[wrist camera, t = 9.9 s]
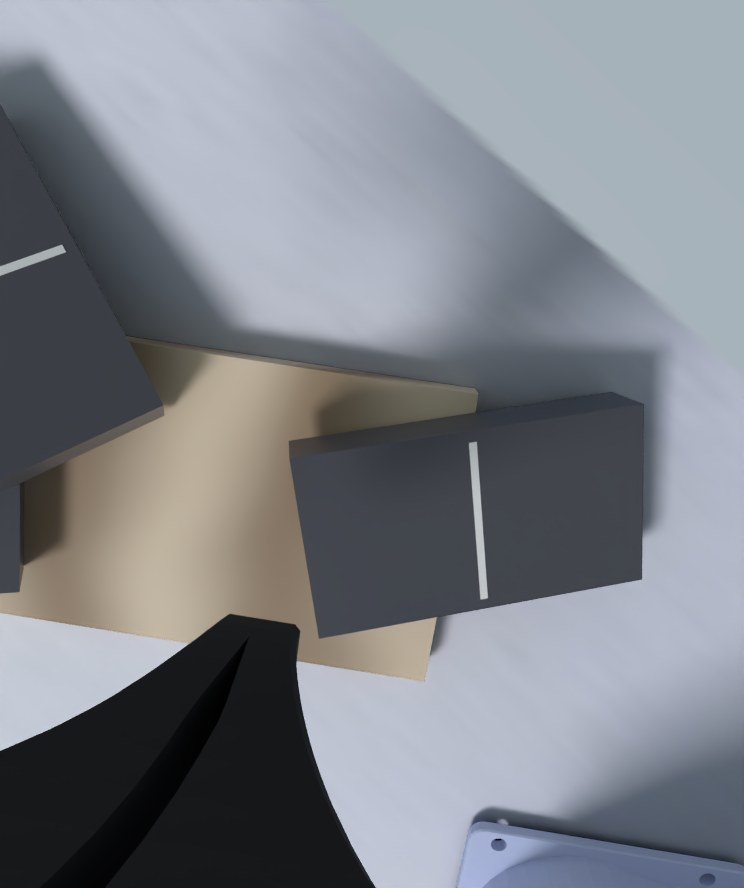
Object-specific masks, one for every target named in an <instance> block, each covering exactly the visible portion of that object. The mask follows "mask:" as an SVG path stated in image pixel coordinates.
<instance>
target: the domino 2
mask: <svg viewBox="0 0 744 888" xmlns="http://www.w3.org/2000/svg"><path fill="white" fill-rule="evenodd" d="M643 423H644V404H642V403H639V402H637V401H634V400H631V399H629V398H626V397H623V396H621V395H618V394H615V393H613V392H608V393H602V394H595V395H589V396H582V397H575V398H569V399H562V400H556V401H549V402H542V403H536V404H529V405H522V406H516V407H509V408H503V409H496V410H489V411H483V412H476V413H470V414H463V415H456V416H450V417H443V418H436V419H430V420H423V421H417V422H410V423H403V424H397V425H390V426H384V427H377V428H370V429H364V430H357V431H350V432H344V433H337V434H331V435H324V436H317V437H311V438H304V439H297V440H291V441H289V460H290V466H291V472H292V478H293V484H294V490H295V496H296V503H297V509H298V515H299V521H300V527H301V533H302V539H303V545H304V551H305V557H306V563H307V569H308V576H309V582H310V588H311V594H312V600H313V606H314V612H315V618H316V624H317V630H318V636H319V639H322V638H327V637H332V636H338V635H343V634H349V633H354V632H359V631H365V630H370V629H376V628H381V627H387V626H392V625H397V624H403V623H408V622H414V621H419V620H425V619H430V618H435V617H441V616H446V615H452V614H457V613H462V612H468V611H473V610H479V609H484V608H490V607H495V606H500V605H506V604H511V603H517V602H522V601H528V600H533V599H538V598H544V597H549V596H555V595H560V594H566V593H571V592H576V591H582V590H587V589H593V588H598V587H603V586H609V585H614V584H620V583H625V582H631V581H636V580H641V579H642V521H643Z"/></svg>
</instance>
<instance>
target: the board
mask: <svg viewBox="0 0 744 888" xmlns="http://www.w3.org/2000/svg"><path fill="white" fill-rule="evenodd" d="M126 337H127V339H128V341H129V342H130V344H131V346H132V348H133V350H134V352H135V353H136V355H137V357H138V359H139V361H140V363H141V364H142V366H143V368H144V370H145V372H146V374H147V375H148V377H149V379H150V381H151V383H152V385H153V386H154V388H155V390H156V392H157V394H158V396H159V398H160V399H161V401H162V403H163V405H164V415H165V416H163V417H160V418H158V419H156V420H154V421H152V422H150V423H148V424H145V425H143V426H141V427H139V428H137V429H135V430H133V431H131V432H128V433H126V434H124V435H122V436H120V437H118V438H116V439H114V440H111V441H109V442H107V443H105V444H103V445H101V446H99V447H96V448H94V449H92V450H90V451H88V452H86V453H84V454H82V455H79V456H77V457H75V458H73V459H71V460H69V461H67V462H64V463H62V464H60V465H58V466H56V467H54V468H52V469H50V470H47V471H45V472H43V473H41V474H39V475H37V476H35V477H32V478H30V479H28V480H26V481H24V569H23V575H22V581H21V586H20V592H16V593H2V594H0V613H4V614H10V615H16V616H22V617H29V618H35V619H41V620H47V621H53V622H59V623H66V624H72V625H78V626H84V627H90V628H97V629H103V630H109V631H115V632H121V633H127V634H134V635H140V636H146V637H152V638H158V639H165V640H171V641H177V642H183V643H189V644H190V643H191V642H192V641H194V640H195V639H196V638H198V637H199V636H200V635H202V634H203V633H204V632H205V631H207V630H208V629H209V628H211V627H212V626H213V625H214V624H216V623H217V622H218V621H220V620H221V619H223V618H224V617H225V616H227V615H228V614H235V615H241V616H247V617H253V618H260V619H266V620H272V621H278V622H284V623H290V624H295V625H296V626H297V627H298V629H299V630H300V639H299V647H298V654H297V661H301V662H307V663H313V664H319V665H325V666H331V667H338V668H344V669H350V670H356V671H362V672H369V673H375V674H381V675H387V676H393V677H399V678H406V679H412V680H418V681H424V682H425V677H426V672H427V667H428V661H429V656H430V651H431V646H432V640H433V635H434V630H435V624H436V619H437V617H435V618H430V619H425V620H419V621H414V622H408V623H403V624H397V625H392V626H387V627H381V628H376V629H370V630H365V631H359V632H354V633H349V634H343V635H338V636H332V637H327V638H322V639H319V636H318V630H317V624H316V618H315V612H314V606H313V600H312V594H311V588H310V582H309V576H308V569H307V563H306V557H305V551H304V545H303V539H302V533H301V527H300V521H299V515H298V509H297V503H296V496H295V490H294V484H293V478H292V472H291V466H290V460H289V441H291V440H297V439H304V438H311V437H317V436H324V435H331V434H337V433H344V432H350V431H357V430H364V429H370V428H377V427H384V426H390V425H397V424H403V423H410V422H417V421H423V420H430V419H436V418H443V417H450V416H456V415H463V414H470V413H475V412H476V406H477V401H478V396H479V394H478V392H477V391H476V389H475V388H469V387H462V386H456V385H449V384H442V383H436V382H429V381H422V380H416V379H409V378H402V377H396V376H389V375H382V374H376V373H369V372H362V371H356V370H349V369H342V368H336V367H329V366H322V365H316V364H309V363H302V362H296V361H289V360H283V359H276V358H269V357H263V356H256V355H249V354H243V353H236V352H229V351H223V350H216V349H209V348H203V347H196V346H189V345H183V344H176V343H169V342H163V341H156V340H149V339H143V338H136V337H129V336H126Z"/></svg>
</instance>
